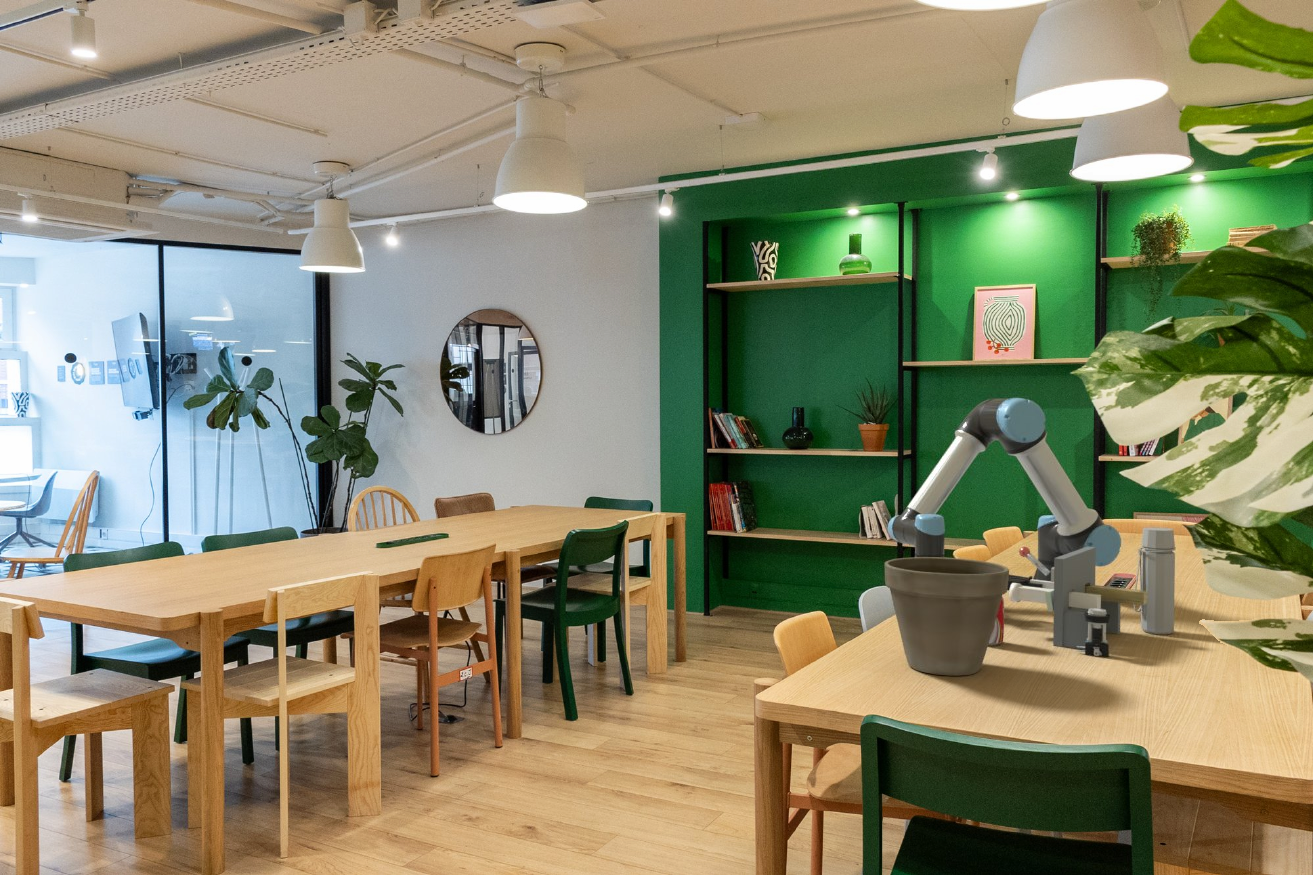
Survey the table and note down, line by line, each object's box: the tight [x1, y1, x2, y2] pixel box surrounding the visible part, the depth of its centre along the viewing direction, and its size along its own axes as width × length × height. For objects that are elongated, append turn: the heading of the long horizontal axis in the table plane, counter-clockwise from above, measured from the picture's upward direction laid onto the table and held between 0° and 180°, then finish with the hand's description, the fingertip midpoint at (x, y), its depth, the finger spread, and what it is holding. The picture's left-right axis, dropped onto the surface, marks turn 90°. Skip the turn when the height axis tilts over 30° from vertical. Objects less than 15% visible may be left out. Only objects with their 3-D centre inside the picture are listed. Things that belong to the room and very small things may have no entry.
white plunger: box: [1008, 583, 1101, 609], centre depth 228 cm, size 4×20×4 cm, turn 50°
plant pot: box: [884, 556, 1010, 677], centre depth 204 cm, size 25×25×22 cm
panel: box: [1051, 547, 1122, 651], centre depth 230 cm, size 24×9×20 cm, turn 140°
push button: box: [1076, 608, 1111, 658], centre depth 215 cm, size 7×5×10 cm
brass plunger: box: [1085, 584, 1147, 606], centre depth 233 cm, size 4×20×4 cm, turn 50°
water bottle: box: [1133, 526, 1176, 636], centre depth 236 cm, size 9×8×25 cm
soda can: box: [988, 596, 1005, 647], centre depth 225 cm, size 7×7×12 cm
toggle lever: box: [1018, 546, 1050, 576], centre depth 227 cm, size 2×7×6 cm, turn 50°
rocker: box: [1045, 590, 1054, 612], centre depth 225 cm, size 3×1×4 cm, turn 140°
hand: (1057, 588), depth 240 cm, fingers closed
